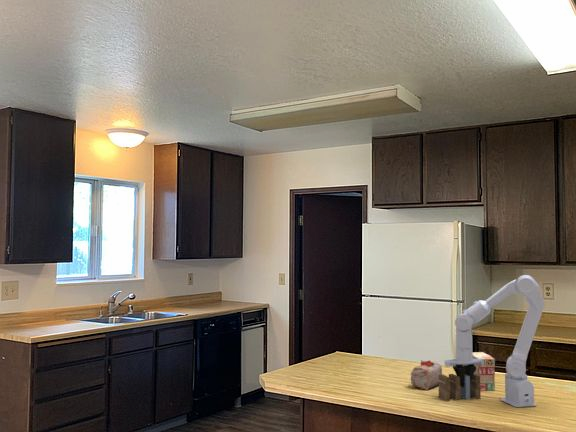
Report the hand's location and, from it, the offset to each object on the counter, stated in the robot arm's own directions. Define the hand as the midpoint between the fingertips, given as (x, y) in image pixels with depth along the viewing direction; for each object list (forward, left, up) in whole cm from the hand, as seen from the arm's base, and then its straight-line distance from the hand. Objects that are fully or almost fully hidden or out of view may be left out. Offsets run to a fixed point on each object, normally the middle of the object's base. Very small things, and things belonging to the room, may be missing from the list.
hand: (464, 386), depth 205 cm
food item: (+18, +6, -4) cm, 19 cm away
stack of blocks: (+17, -16, -4) cm, 23 cm away
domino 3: (0, -4, -4) cm, 6 cm away
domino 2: (0, +4, -4) cm, 6 cm away
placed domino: (0, 0, -4) cm, 4 cm away
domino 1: (0, +8, -4) cm, 9 cm away
